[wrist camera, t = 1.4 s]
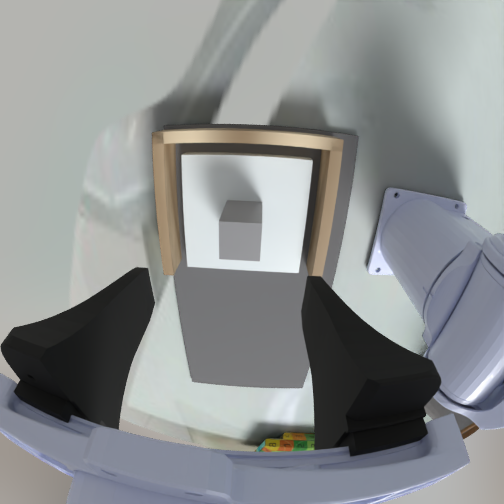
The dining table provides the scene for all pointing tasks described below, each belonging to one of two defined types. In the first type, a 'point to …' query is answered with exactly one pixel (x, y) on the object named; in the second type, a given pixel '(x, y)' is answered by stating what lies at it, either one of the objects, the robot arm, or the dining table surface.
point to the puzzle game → (288, 443)
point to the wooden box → (330, 145)
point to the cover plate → (246, 184)
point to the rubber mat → (254, 286)
